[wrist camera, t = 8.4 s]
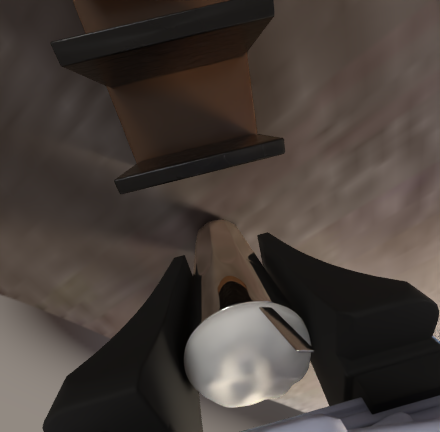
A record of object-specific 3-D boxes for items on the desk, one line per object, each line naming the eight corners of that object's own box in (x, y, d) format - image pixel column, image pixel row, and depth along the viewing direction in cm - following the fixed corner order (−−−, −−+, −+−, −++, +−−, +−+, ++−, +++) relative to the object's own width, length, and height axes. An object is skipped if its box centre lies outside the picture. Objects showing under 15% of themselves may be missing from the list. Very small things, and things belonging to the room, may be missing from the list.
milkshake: (259, 203, 14) (391, 350, 5) (241, 267, 16) (310, 454, 7) (193, 193, 13) (204, 352, 4) (182, 262, 15) (172, 472, 6)
